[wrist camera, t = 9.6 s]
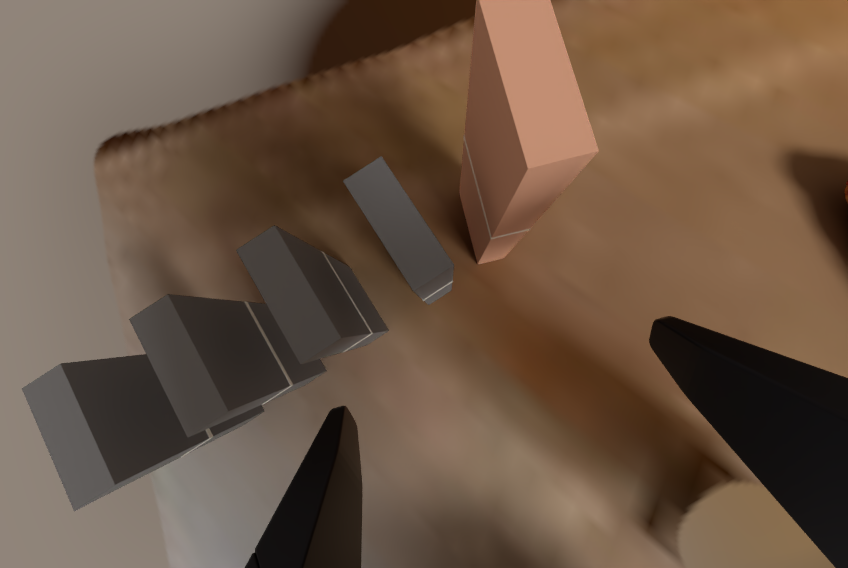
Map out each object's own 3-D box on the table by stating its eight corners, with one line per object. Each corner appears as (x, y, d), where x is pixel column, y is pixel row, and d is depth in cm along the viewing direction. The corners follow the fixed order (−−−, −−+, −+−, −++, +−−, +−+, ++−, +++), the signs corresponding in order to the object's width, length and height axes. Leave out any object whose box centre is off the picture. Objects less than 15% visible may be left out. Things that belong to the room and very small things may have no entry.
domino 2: (327, 371, 22) (229, 411, 12) (304, 385, 22) (187, 438, 12) (289, 305, 23) (167, 293, 13) (267, 320, 23) (128, 319, 13)
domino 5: (504, 258, 22) (599, 151, 8) (477, 264, 22) (527, 169, 8) (484, 186, 23) (542, -26, 9) (458, 192, 23) (476, -8, 9)
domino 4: (451, 290, 22) (454, 265, 12) (428, 305, 22) (413, 292, 12) (410, 227, 23) (381, 155, 13) (388, 242, 23) (342, 180, 13)
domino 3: (389, 330, 22) (341, 338, 12) (366, 345, 22) (300, 365, 12) (350, 266, 23) (274, 224, 13) (327, 281, 23) (235, 249, 13)
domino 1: (264, 411, 22) (115, 485, 12) (241, 426, 22) (73, 511, 12) (229, 344, 23) (60, 362, 13) (207, 359, 23) (21, 388, 13)
